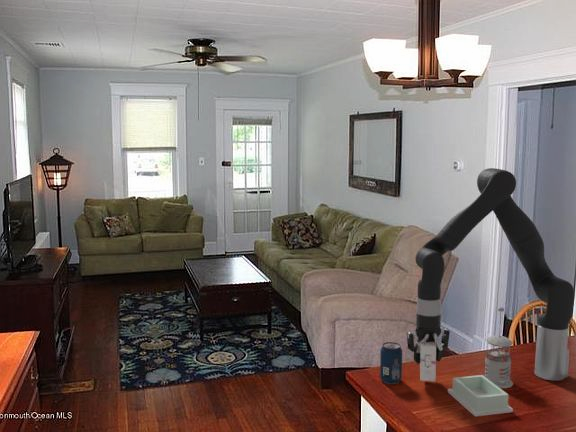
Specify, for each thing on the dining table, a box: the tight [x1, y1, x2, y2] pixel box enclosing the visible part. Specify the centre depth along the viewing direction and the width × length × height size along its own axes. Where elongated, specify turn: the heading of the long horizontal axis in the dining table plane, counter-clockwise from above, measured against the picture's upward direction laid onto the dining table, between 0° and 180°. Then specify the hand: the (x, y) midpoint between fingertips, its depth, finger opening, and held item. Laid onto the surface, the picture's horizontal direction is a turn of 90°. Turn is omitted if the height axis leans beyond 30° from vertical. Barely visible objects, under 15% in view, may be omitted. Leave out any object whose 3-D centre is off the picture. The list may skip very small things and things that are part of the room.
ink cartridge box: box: [419, 338, 437, 382], centre depth 185 cm, size 9×5×15 cm, turn 168°
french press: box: [483, 306, 514, 389], centre depth 187 cm, size 10×12×25 cm
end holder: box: [447, 374, 514, 417], centre depth 174 cm, size 12×16×5 cm
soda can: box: [379, 341, 403, 385], centre depth 188 cm, size 7×7×12 cm
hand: (427, 361), depth 186 cm, fingers closed on ink cartridge box, 6 cm apart
